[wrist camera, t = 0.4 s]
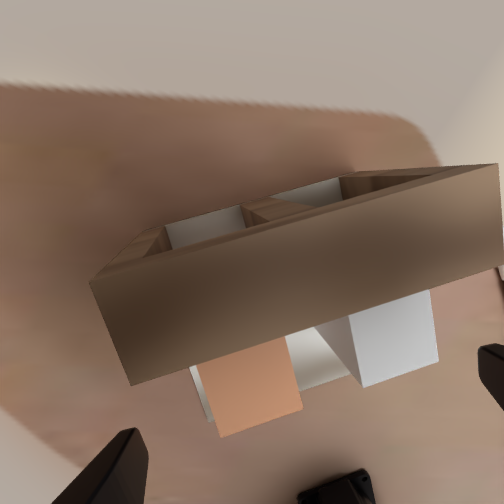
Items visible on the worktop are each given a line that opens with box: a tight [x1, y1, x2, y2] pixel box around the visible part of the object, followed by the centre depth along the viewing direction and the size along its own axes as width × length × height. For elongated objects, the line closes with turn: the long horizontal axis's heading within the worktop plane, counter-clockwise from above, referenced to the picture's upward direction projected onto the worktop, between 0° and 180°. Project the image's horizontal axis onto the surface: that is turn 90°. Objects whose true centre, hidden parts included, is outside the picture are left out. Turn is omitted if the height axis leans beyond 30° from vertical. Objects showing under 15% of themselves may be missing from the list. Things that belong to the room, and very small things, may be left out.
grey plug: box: [314, 289, 439, 388], centre depth 19 cm, size 6×4×8 cm, turn 15°
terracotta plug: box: [196, 336, 304, 438], centre depth 19 cm, size 6×4×8 cm, turn 15°
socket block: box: [89, 163, 504, 423], centre depth 19 cm, size 15×15×11 cm
